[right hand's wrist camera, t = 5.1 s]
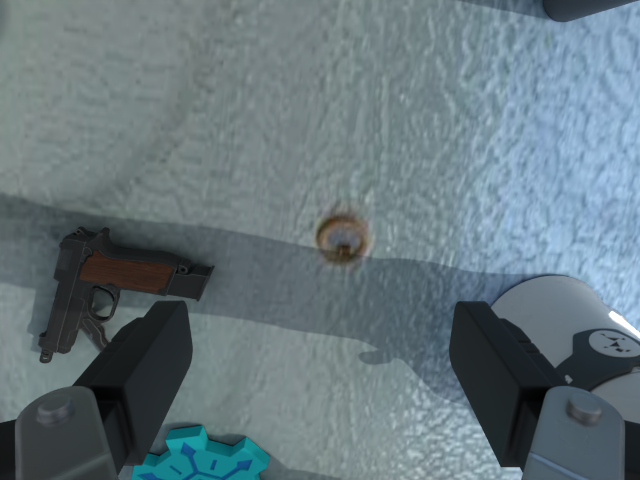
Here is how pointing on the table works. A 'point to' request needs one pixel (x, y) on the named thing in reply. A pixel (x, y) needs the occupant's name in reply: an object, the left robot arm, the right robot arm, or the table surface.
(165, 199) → the table surface
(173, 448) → the decorative ornament
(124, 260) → the handgun
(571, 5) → the dark grey cylinder
